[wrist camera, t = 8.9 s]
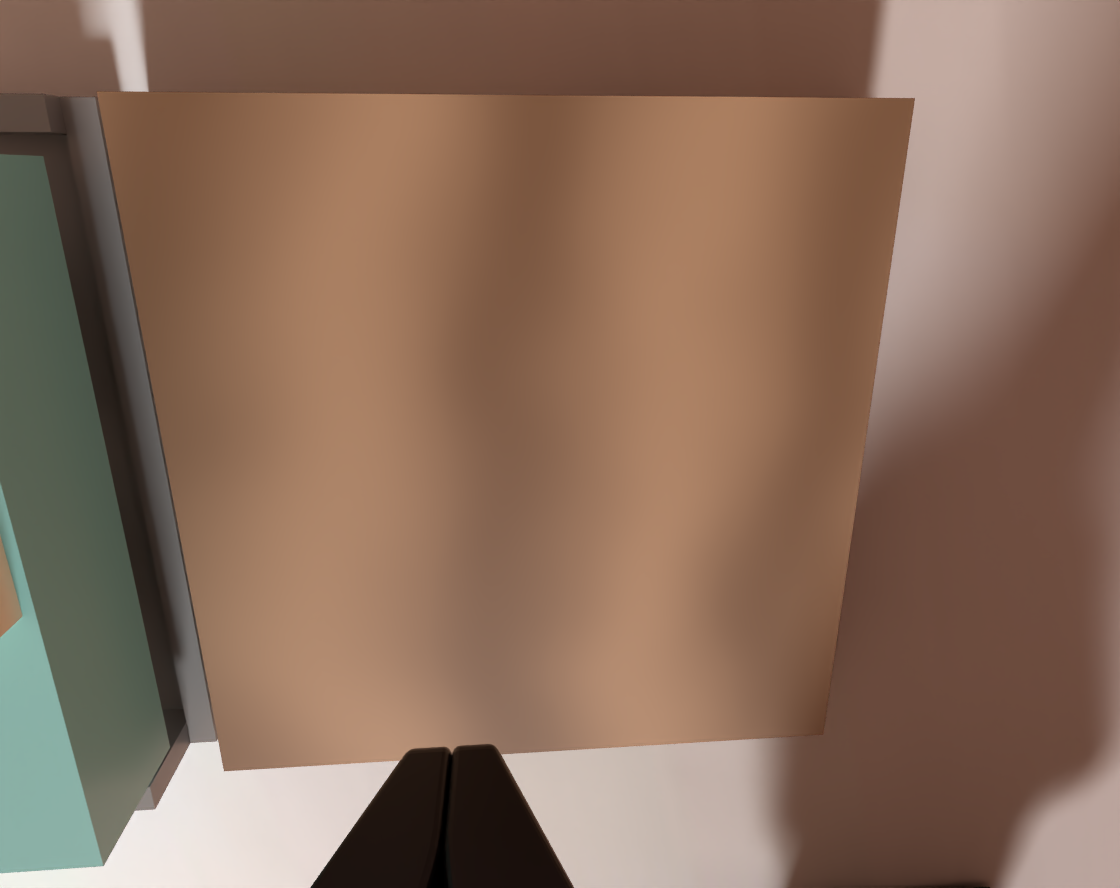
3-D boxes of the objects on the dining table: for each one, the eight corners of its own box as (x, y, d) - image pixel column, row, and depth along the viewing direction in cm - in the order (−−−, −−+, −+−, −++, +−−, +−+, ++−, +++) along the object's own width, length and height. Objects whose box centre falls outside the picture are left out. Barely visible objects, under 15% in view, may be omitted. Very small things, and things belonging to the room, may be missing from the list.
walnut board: (863, 107, 15) (914, 98, 14) (792, 681, 20) (823, 734, 18) (148, 102, 14) (96, 91, 12) (250, 712, 19) (224, 770, 17)
